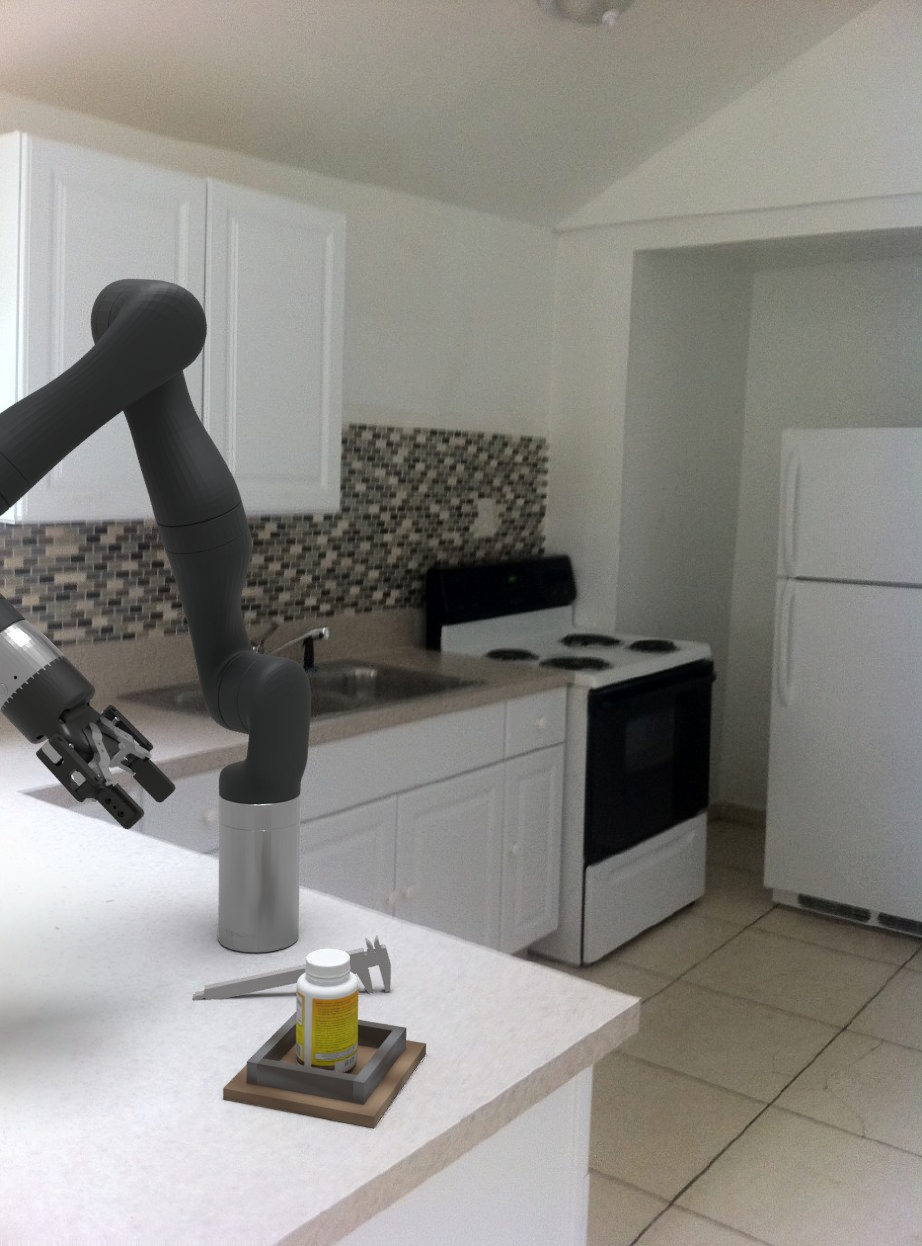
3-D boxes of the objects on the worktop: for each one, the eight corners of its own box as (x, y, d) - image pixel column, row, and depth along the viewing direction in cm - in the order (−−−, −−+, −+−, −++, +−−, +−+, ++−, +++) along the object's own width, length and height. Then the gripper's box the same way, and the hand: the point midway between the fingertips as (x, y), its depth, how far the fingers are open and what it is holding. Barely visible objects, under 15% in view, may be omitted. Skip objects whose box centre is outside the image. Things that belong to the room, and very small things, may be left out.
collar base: (289, 1030, 122) (290, 1000, 122) (425, 1053, 118) (426, 1023, 118) (223, 1099, 109) (223, 1066, 109) (373, 1127, 105) (374, 1094, 105)
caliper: (389, 990, 133) (390, 934, 132) (390, 995, 132) (391, 938, 131) (192, 998, 129) (192, 940, 128) (192, 1003, 128) (192, 944, 127)
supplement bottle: (369, 1062, 114) (372, 955, 113) (327, 1086, 110) (329, 975, 108) (325, 1043, 118) (327, 939, 116) (282, 1065, 113) (283, 957, 112)
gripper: (23, 667, 107) (155, 804, 108) (88, 641, 121) (204, 763, 122) (-34, 725, 108) (96, 860, 109) (37, 693, 122) (152, 813, 123)
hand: (153, 808), depth 115 cm, fingers open, 8 cm apart
